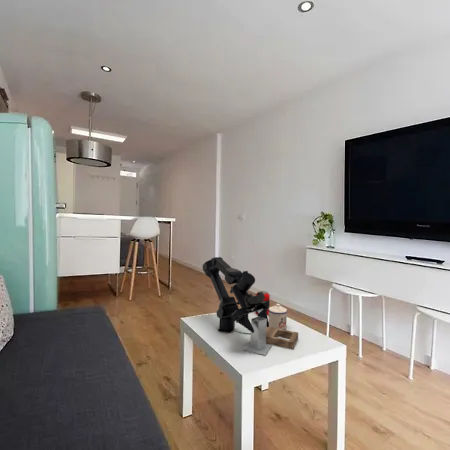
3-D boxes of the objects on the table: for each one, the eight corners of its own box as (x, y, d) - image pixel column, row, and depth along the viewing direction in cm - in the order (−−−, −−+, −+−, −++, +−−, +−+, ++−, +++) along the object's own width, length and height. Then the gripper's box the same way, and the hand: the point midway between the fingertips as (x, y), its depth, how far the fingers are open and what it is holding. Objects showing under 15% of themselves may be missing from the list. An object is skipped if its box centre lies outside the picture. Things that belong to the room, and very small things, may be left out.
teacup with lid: (281, 332, 135) (282, 308, 134) (264, 327, 140) (265, 304, 140) (292, 325, 144) (293, 302, 144) (276, 320, 150) (276, 298, 149)
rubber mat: (243, 350, 117) (244, 349, 117) (251, 341, 125) (251, 340, 125) (265, 356, 113) (265, 354, 113) (271, 346, 121) (271, 345, 121)
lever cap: (250, 347, 119) (251, 318, 118) (258, 343, 122) (259, 316, 121) (257, 351, 116) (258, 321, 115) (265, 347, 119) (266, 318, 118)
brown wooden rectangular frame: (259, 342, 125) (259, 335, 125) (266, 332, 135) (267, 326, 135) (293, 349, 119) (293, 342, 119) (298, 339, 129) (298, 332, 128)
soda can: (252, 313, 160) (253, 292, 159) (260, 310, 165) (261, 289, 165) (263, 317, 155) (264, 295, 154) (271, 313, 160) (272, 292, 160)
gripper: (236, 289, 114) (256, 325, 107) (267, 282, 127) (286, 314, 119) (223, 304, 120) (241, 339, 113) (253, 296, 133) (271, 327, 125)
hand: (261, 329), depth 117 cm, fingers open, 9 cm apart
